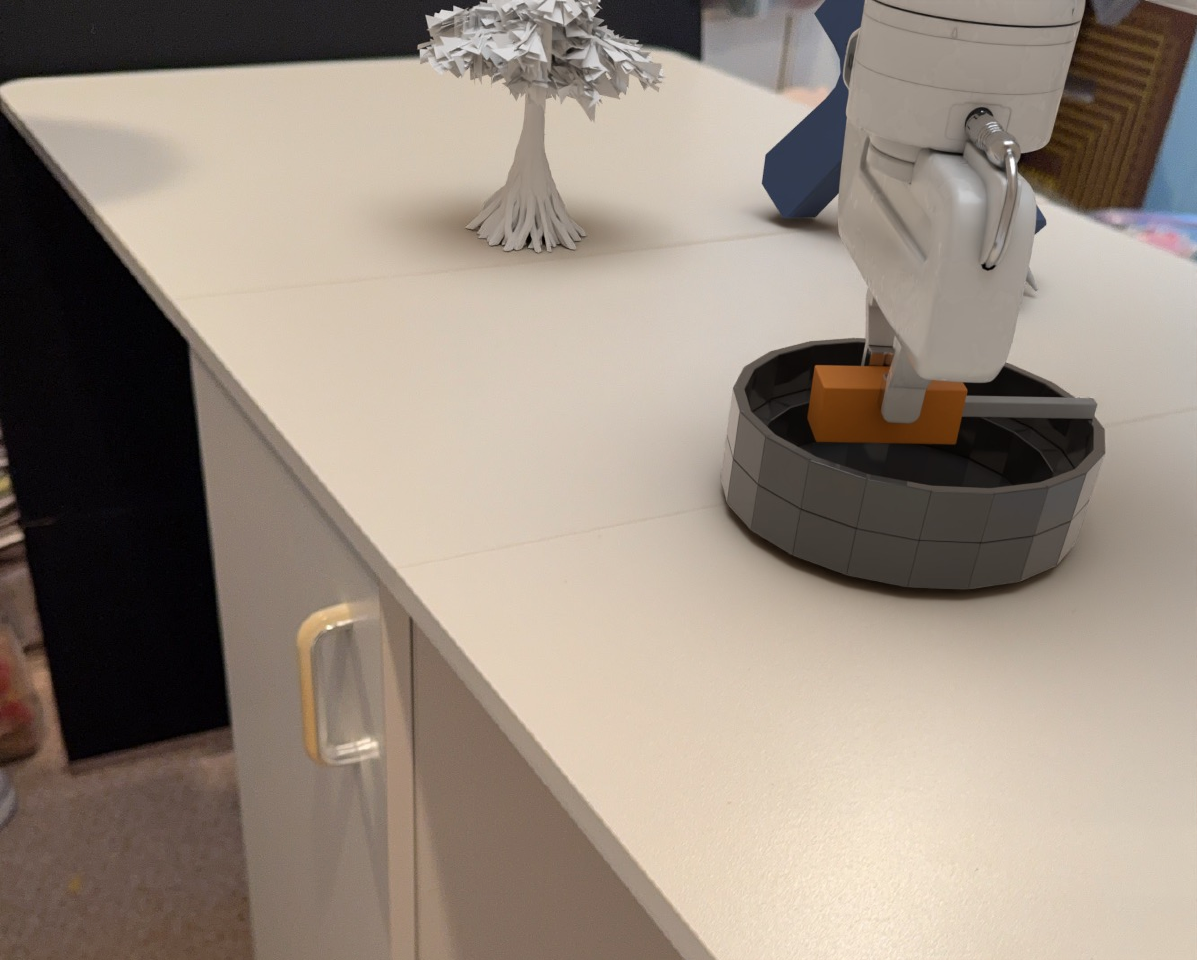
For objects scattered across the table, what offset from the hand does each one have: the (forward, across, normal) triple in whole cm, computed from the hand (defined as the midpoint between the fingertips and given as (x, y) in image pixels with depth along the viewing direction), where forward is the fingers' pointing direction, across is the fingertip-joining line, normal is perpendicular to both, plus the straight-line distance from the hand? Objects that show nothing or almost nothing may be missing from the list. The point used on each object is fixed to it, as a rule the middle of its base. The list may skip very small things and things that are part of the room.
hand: (887, 399), depth 66 cm
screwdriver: (+2, 0, -4) cm, 4 cm away
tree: (+6, +42, +17) cm, 46 cm away
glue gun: (+6, +43, -10) cm, 45 cm away
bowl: (+6, 0, -2) cm, 6 cm away
